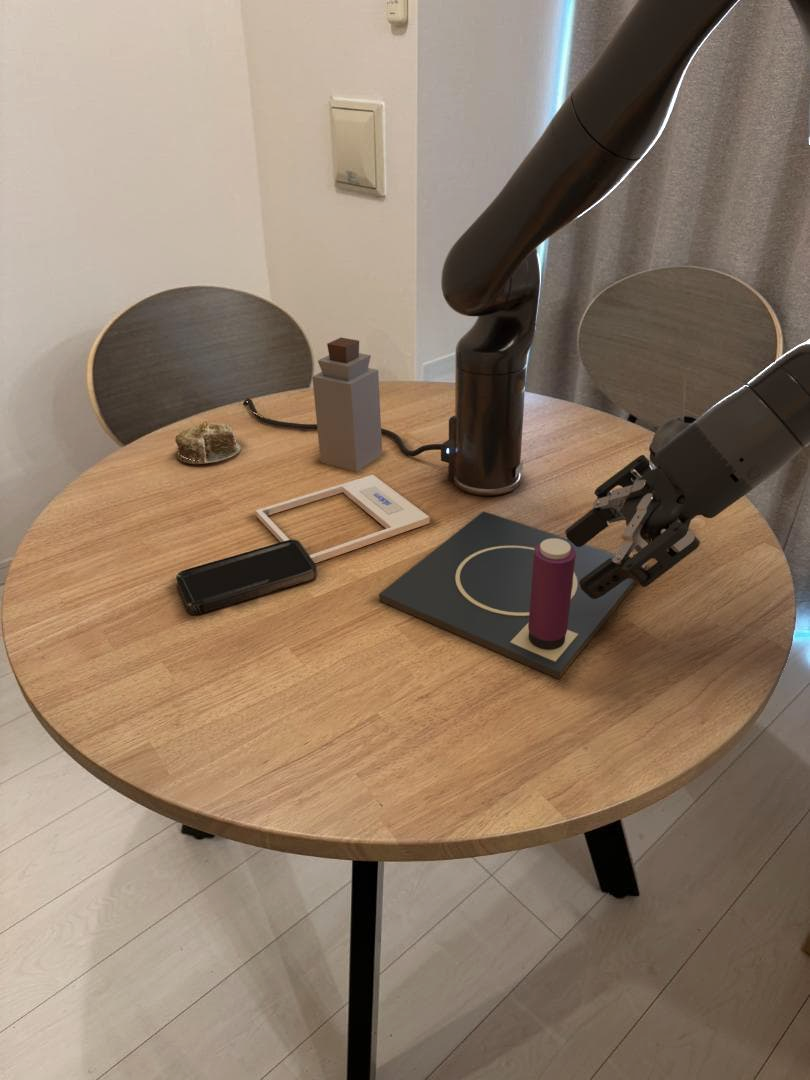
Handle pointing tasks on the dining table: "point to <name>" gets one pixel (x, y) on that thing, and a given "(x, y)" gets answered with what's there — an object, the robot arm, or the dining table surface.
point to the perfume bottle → (347, 407)
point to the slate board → (501, 591)
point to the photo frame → (370, 498)
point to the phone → (245, 576)
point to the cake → (207, 443)
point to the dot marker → (551, 593)
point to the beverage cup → (671, 429)
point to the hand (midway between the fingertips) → (577, 564)
